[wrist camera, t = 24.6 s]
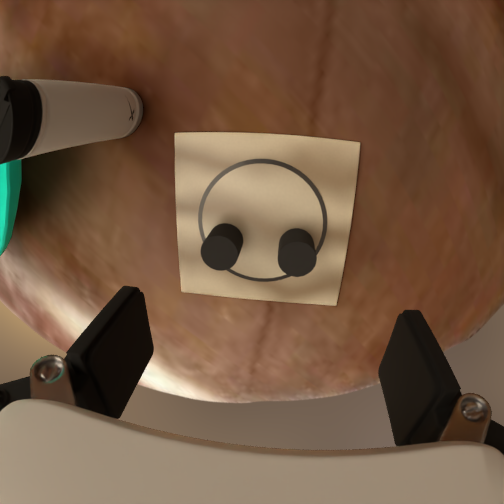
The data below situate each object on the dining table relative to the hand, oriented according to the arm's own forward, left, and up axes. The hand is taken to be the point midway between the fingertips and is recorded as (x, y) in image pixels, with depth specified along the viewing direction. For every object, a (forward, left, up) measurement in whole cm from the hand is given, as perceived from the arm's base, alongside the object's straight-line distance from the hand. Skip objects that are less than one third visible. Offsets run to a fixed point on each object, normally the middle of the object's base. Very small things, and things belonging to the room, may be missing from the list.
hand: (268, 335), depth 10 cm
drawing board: (+4, -2, -24) cm, 25 cm away
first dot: (+6, -6, -24) cm, 25 cm away
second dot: (+6, +2, -24) cm, 25 cm away
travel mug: (-9, -19, -24) cm, 32 cm away
